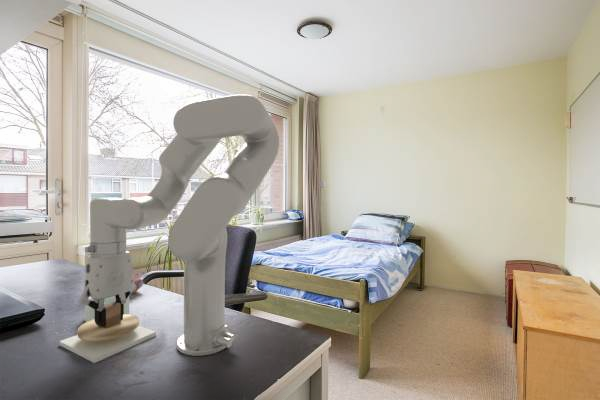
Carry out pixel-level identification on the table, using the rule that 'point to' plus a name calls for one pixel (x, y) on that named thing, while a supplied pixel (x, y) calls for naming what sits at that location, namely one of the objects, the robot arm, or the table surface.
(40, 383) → the table surface
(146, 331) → the mat
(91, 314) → the bowl
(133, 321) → the lid
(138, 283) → the video game controller
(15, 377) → the table surface
